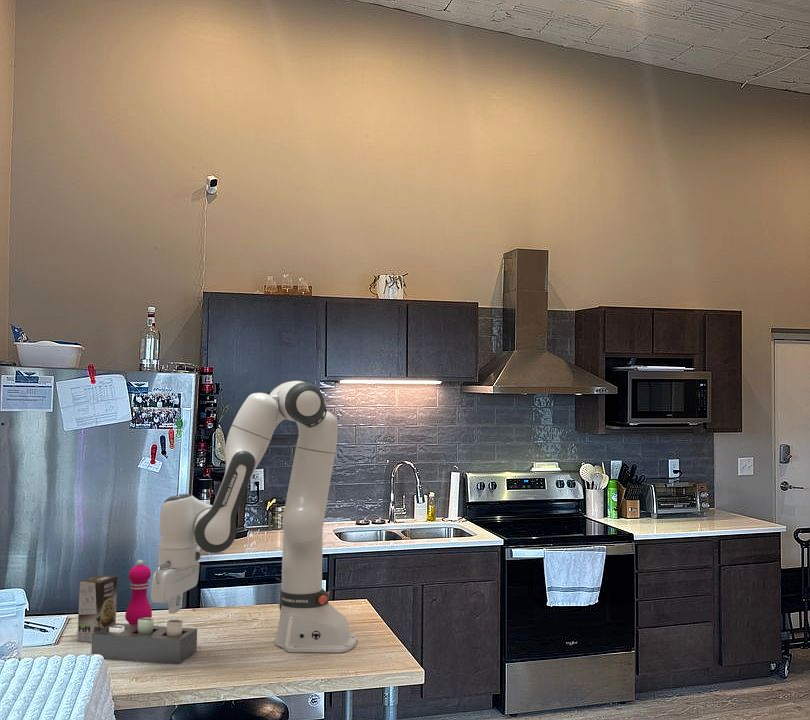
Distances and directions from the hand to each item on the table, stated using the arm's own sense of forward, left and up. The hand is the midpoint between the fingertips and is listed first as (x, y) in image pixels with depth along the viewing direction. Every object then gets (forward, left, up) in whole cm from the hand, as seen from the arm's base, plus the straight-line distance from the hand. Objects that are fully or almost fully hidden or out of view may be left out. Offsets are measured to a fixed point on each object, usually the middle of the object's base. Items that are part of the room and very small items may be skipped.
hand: (174, 612), depth 204 cm
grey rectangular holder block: (+8, 0, -11) cm, 14 cm away
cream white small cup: (0, 0, -7) cm, 7 cm away
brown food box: (+28, -11, -12) cm, 32 cm away
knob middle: (+8, 0, -7) cm, 10 cm away
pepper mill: (+20, -19, -12) cm, 30 cm away
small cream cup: (+16, 0, -9) cm, 18 cm away
